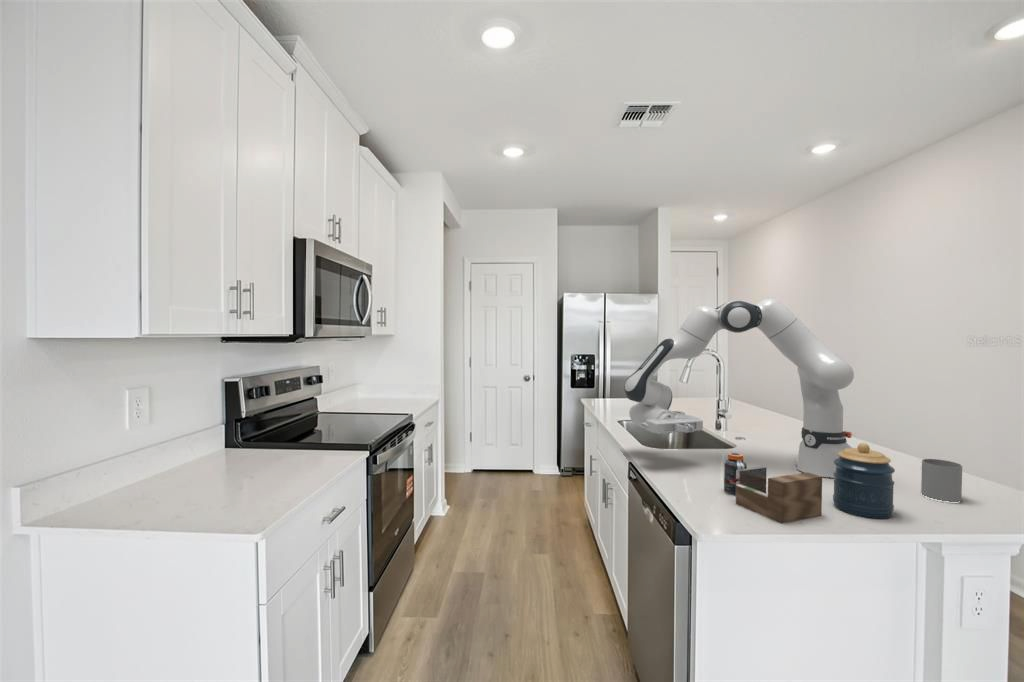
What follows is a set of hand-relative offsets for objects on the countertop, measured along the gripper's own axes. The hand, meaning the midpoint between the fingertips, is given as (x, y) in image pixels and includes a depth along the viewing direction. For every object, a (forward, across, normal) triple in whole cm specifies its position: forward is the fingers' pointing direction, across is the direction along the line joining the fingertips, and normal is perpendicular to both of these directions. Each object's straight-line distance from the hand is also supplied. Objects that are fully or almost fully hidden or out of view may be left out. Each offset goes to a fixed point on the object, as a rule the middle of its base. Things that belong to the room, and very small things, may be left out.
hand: (690, 429), depth 155 cm
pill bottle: (+18, 0, +15) cm, 24 cm away
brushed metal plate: (+24, -1, +14) cm, 28 cm away
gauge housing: (+31, 0, +14) cm, 35 cm away
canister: (+40, +22, +14) cm, 48 cm away
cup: (+42, +52, +14) cm, 68 cm away
